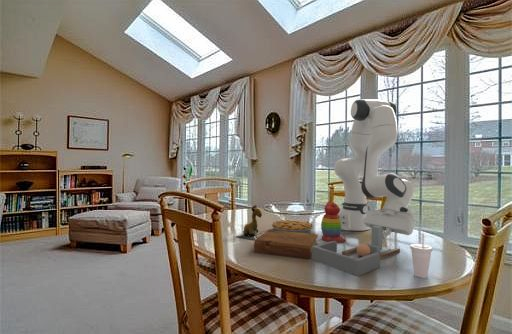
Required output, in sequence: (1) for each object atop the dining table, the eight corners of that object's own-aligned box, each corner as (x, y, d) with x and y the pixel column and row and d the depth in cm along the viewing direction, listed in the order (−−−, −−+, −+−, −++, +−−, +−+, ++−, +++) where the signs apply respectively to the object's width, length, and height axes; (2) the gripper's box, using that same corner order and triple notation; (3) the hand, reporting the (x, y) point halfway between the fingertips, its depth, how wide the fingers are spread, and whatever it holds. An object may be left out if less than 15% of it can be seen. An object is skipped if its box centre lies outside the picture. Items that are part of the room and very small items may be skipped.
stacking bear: (347, 242, 132) (347, 203, 132) (326, 243, 131) (326, 204, 130) (337, 236, 143) (337, 200, 142) (317, 237, 141) (317, 201, 141)
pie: (317, 229, 158) (317, 220, 158) (307, 239, 138) (307, 228, 138) (279, 225, 167) (279, 216, 167) (265, 234, 148) (265, 224, 147)
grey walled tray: (311, 259, 110) (311, 246, 110) (333, 252, 117) (333, 240, 117) (357, 276, 94) (357, 261, 93) (379, 267, 101) (379, 253, 101)
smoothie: (435, 280, 90) (436, 236, 90) (413, 278, 92) (413, 235, 91) (427, 272, 97) (428, 231, 96) (407, 271, 98) (407, 230, 97)
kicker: (361, 251, 119) (361, 226, 118) (373, 247, 124) (373, 223, 124) (379, 256, 112) (379, 230, 112) (391, 251, 117) (391, 227, 117)
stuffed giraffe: (258, 241, 135) (258, 207, 135) (228, 237, 144) (227, 205, 145) (274, 234, 149) (274, 204, 149) (245, 231, 158) (245, 202, 158)
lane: (341, 255, 114) (341, 251, 114) (373, 245, 127) (373, 242, 127) (369, 264, 105) (369, 259, 104) (399, 252, 118) (399, 248, 118)
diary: (254, 254, 118) (254, 240, 118) (268, 242, 135) (268, 230, 135) (310, 260, 110) (310, 245, 109) (317, 246, 127) (317, 233, 127)
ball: (354, 256, 113) (354, 243, 113) (361, 253, 116) (361, 241, 116) (365, 259, 109) (365, 246, 109) (372, 257, 112) (372, 244, 112)
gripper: (368, 204, 132) (355, 228, 127) (414, 210, 116) (402, 238, 110) (373, 212, 135) (361, 236, 129) (419, 220, 118) (408, 247, 113)
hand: (380, 237), depth 120 cm, fingers closed
